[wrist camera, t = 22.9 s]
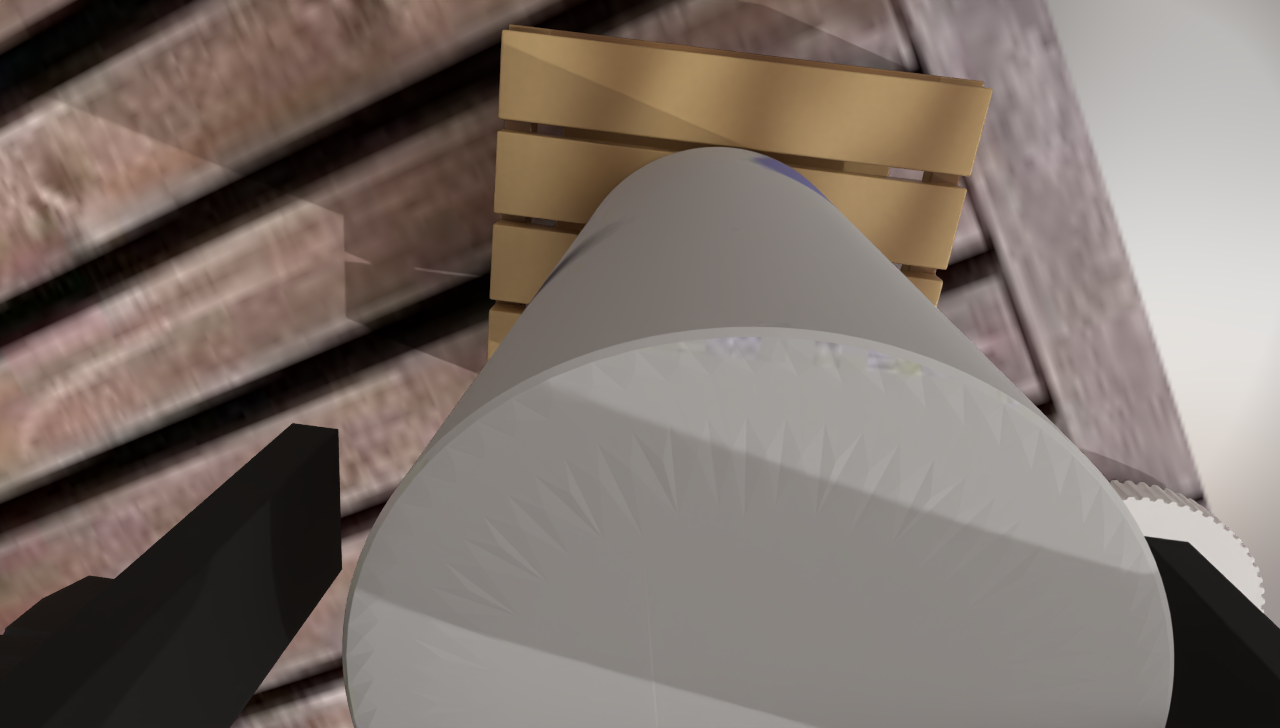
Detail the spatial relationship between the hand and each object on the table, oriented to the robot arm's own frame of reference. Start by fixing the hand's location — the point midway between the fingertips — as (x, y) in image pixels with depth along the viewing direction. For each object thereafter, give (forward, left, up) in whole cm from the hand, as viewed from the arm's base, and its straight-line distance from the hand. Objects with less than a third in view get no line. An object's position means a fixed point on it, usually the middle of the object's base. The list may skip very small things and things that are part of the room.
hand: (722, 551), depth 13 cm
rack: (0, 0, -23) cm, 23 cm away
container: (0, 0, -16) cm, 16 cm away
